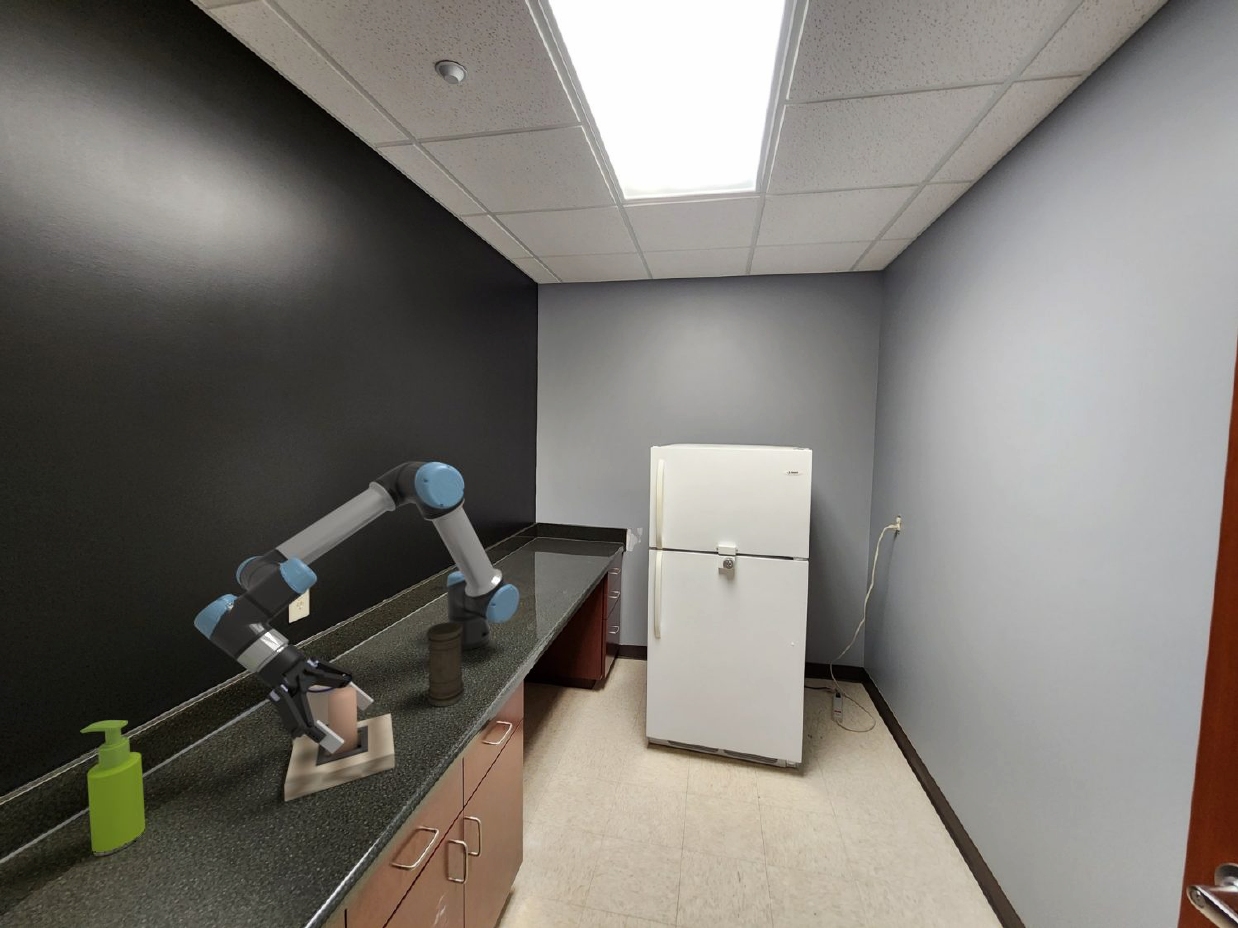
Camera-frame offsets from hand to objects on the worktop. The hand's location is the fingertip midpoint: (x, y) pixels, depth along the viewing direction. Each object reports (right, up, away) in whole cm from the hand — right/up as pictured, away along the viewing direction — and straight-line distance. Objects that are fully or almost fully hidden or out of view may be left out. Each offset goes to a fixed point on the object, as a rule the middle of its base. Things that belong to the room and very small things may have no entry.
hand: (354, 725), depth 94 cm
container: (+10, -6, +23) cm, 26 cm away
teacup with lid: (-16, -6, +15) cm, 23 cm away
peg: (-2, -7, 0) cm, 8 cm away
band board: (-2, -7, 0) cm, 7 cm away
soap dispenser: (-28, -8, -19) cm, 35 cm away
